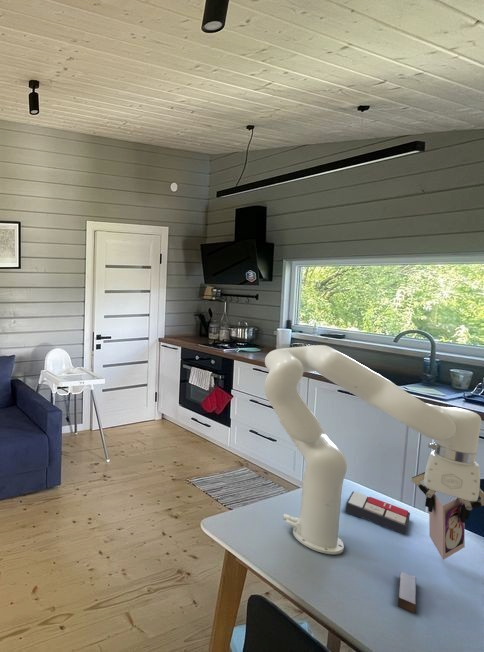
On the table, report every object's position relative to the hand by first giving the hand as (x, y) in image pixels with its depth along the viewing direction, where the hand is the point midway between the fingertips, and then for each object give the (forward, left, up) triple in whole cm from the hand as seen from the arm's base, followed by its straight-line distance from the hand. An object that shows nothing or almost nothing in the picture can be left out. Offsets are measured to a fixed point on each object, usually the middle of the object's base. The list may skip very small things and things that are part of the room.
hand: (445, 514), depth 111 cm
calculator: (-14, +17, -16) cm, 27 cm away
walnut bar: (-6, -21, -16) cm, 27 cm away
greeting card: (0, 0, -10) cm, 10 cm away
